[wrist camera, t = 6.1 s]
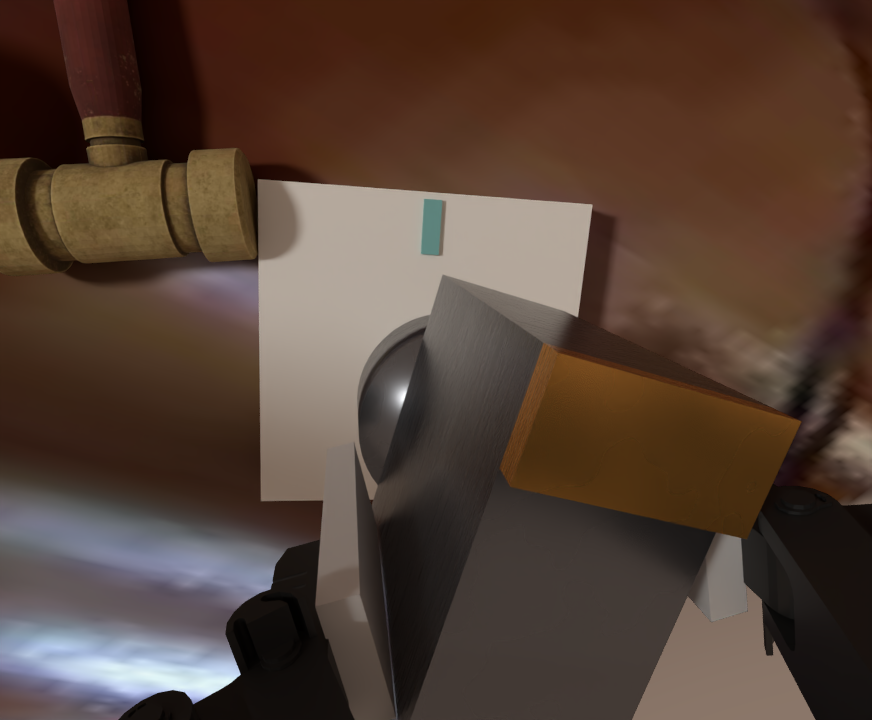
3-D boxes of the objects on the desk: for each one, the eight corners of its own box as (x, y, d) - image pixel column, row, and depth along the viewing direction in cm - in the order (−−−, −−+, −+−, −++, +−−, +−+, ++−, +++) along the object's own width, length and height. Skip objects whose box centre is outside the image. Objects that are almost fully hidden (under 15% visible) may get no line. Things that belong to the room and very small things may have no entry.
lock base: (266, 482, 29) (238, 577, 22) (264, 181, 26) (229, 169, 18) (542, 480, 32) (603, 565, 24) (575, 205, 28) (660, 203, 21)
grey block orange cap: (486, 521, 22) (646, 881, 10) (328, 489, 21) (301, 859, 9) (563, 305, 21) (865, 439, 9) (395, 254, 19) (474, 328, 7)
